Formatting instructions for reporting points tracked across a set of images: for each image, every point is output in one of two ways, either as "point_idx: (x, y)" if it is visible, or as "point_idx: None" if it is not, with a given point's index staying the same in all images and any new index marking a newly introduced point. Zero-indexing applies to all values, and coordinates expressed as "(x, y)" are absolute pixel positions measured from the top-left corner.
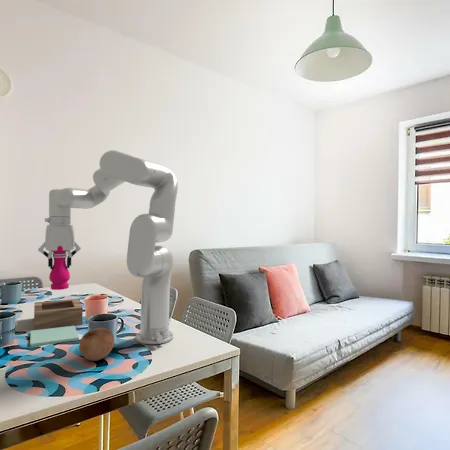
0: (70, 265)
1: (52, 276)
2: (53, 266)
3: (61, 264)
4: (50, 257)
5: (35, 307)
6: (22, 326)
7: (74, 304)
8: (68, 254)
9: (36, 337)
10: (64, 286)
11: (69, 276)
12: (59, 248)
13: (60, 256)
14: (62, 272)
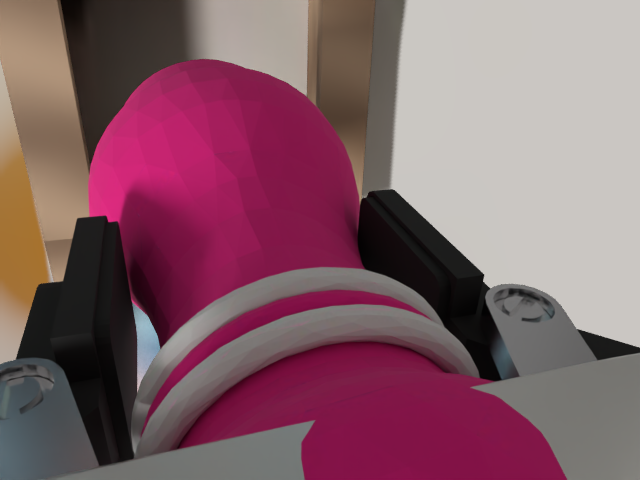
0: (58, 282)
1: (327, 122)
2: (356, 241)
3: (236, 210)
4: (494, 313)
5: (361, 102)
6: (389, 59)
7: (67, 94)
8: (70, 420)
9: None
10: (158, 75)
11: (92, 167)
12: (461, 434)
13: (301, 291)
14: (199, 113)
